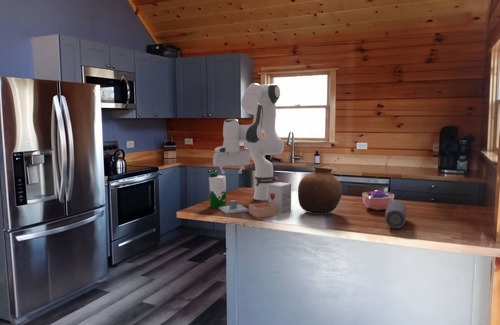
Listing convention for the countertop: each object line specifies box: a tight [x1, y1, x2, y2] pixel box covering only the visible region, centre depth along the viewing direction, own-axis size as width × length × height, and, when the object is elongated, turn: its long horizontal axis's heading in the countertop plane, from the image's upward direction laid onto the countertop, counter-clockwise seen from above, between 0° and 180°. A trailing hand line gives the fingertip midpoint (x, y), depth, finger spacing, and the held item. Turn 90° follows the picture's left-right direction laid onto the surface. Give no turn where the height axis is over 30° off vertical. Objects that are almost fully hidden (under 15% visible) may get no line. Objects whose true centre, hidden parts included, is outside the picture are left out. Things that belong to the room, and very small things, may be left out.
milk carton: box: [208, 172, 227, 209], centre depth 220 cm, size 9×9×20 cm
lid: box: [218, 199, 249, 215], centre depth 211 cm, size 13×13×5 cm
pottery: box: [297, 166, 343, 215], centre depth 202 cm, size 23×23×25 cm
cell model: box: [361, 189, 395, 211], centre depth 210 cm, size 17×20×11 cm
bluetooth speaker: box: [384, 199, 408, 229], centre depth 180 cm, size 23×9×10 cm, turn 157°
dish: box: [248, 202, 277, 219], centre depth 202 cm, size 11×11×5 cm
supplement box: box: [268, 181, 292, 214], centre depth 210 cm, size 9×9×15 cm
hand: (231, 173), depth 209 cm, fingers open, 8 cm apart
